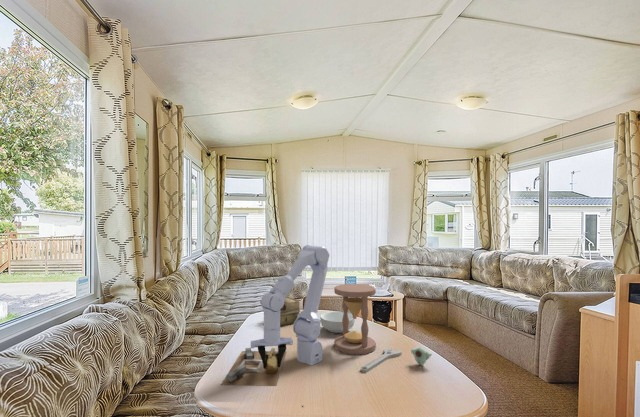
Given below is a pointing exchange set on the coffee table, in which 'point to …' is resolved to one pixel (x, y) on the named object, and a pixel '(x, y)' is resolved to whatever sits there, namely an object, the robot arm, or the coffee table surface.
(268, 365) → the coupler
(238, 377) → the tan wooden flat board
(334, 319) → the cereal bowl
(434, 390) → the coffee table surface
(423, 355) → the robot head
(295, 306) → the miniature house
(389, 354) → the adjustable wrench
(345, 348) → the hourglass
